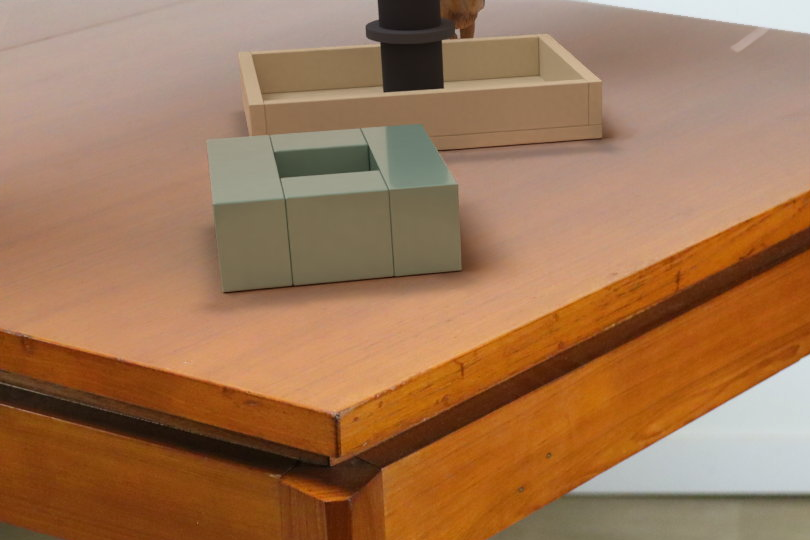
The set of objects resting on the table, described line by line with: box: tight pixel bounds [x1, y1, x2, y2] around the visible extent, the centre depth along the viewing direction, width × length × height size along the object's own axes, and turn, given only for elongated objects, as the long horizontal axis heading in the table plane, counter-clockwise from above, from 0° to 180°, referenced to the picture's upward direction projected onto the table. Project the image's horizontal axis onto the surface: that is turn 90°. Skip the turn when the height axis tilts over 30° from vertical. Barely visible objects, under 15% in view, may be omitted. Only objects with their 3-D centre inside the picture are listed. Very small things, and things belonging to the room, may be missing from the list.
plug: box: [365, 0, 456, 93], centre depth 88 cm, size 5×5×11 cm
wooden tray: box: [237, 33, 603, 151], centre depth 90 cm, size 20×14×3 cm
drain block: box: [205, 124, 463, 293], centre depth 70 cm, size 10×10×4 cm
